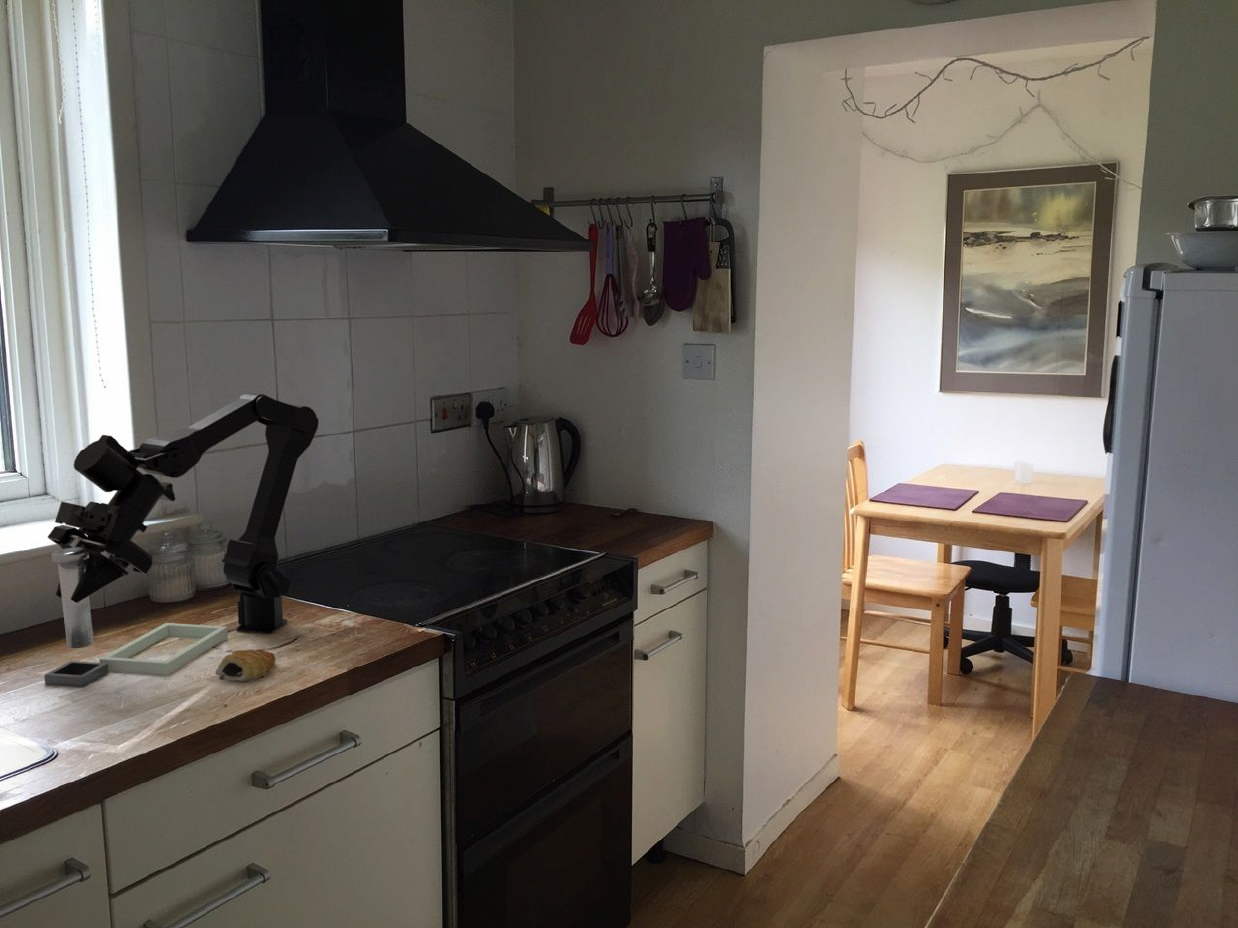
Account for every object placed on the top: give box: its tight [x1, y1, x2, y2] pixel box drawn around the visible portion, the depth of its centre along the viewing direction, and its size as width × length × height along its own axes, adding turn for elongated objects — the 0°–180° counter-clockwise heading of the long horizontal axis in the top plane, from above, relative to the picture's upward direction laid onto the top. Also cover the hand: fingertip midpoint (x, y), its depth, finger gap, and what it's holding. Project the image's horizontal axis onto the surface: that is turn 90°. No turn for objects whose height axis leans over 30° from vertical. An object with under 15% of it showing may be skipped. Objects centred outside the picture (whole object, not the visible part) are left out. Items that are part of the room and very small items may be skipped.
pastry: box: [215, 648, 276, 683], centre depth 167 cm, size 9×7×4 cm
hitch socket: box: [44, 660, 109, 689], centre depth 161 cm, size 6×6×2 cm
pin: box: [51, 548, 94, 649], centre depth 160 cm, size 5×5×14 cm
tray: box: [98, 622, 229, 676], centre depth 173 cm, size 11×18×2 cm, turn 171°
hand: (66, 598), depth 158 cm, fingers closed on pin, 3 cm apart
